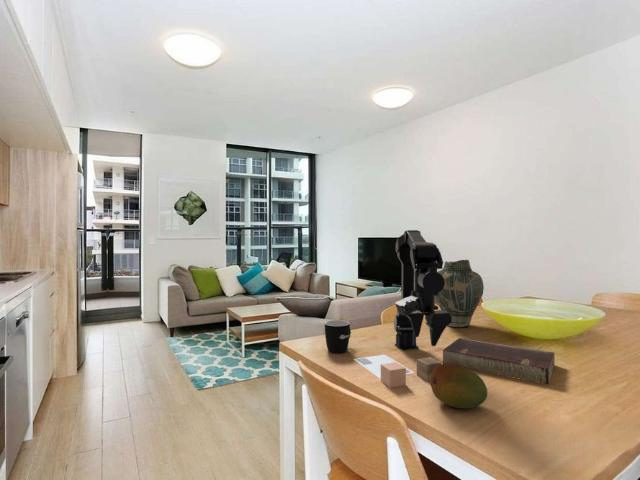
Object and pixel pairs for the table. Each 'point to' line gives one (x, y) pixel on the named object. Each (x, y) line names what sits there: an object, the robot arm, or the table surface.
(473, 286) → the vase
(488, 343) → the hardback book
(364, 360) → the envelope
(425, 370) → the walnut block
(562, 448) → the table surface
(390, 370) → the block
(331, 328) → the mug
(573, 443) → the table surface
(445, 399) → the fruit
